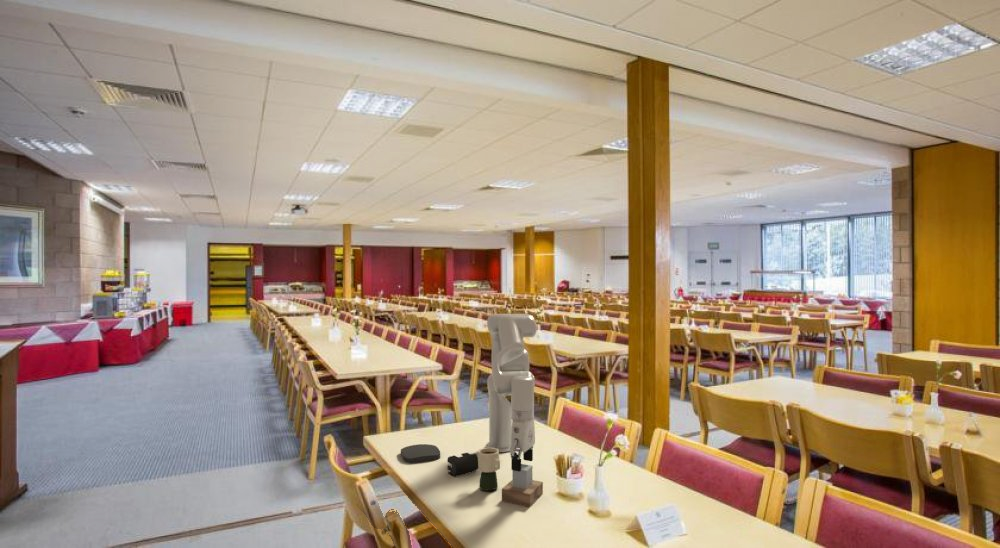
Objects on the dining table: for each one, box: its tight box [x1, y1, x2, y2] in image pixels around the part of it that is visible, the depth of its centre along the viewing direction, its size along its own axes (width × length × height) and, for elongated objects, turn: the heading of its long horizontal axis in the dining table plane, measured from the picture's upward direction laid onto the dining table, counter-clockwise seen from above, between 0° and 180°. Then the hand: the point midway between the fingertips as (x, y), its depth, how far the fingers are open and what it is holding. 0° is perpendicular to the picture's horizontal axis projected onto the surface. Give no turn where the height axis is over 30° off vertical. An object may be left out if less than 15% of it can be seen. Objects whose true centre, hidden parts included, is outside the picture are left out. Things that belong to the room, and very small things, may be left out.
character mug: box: [477, 447, 501, 491], centre depth 181 cm, size 11×7×13 cm, turn 43°
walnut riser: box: [501, 479, 544, 508], centre depth 174 cm, size 11×10×4 cm
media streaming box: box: [400, 443, 441, 464], centre depth 214 cm, size 15×15×3 cm
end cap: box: [446, 452, 479, 478], centre depth 195 cm, size 10×7×7 cm
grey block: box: [512, 463, 533, 489], centre depth 174 cm, size 5×5×6 cm
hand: (522, 465), depth 174 cm, fingers open, 9 cm apart
